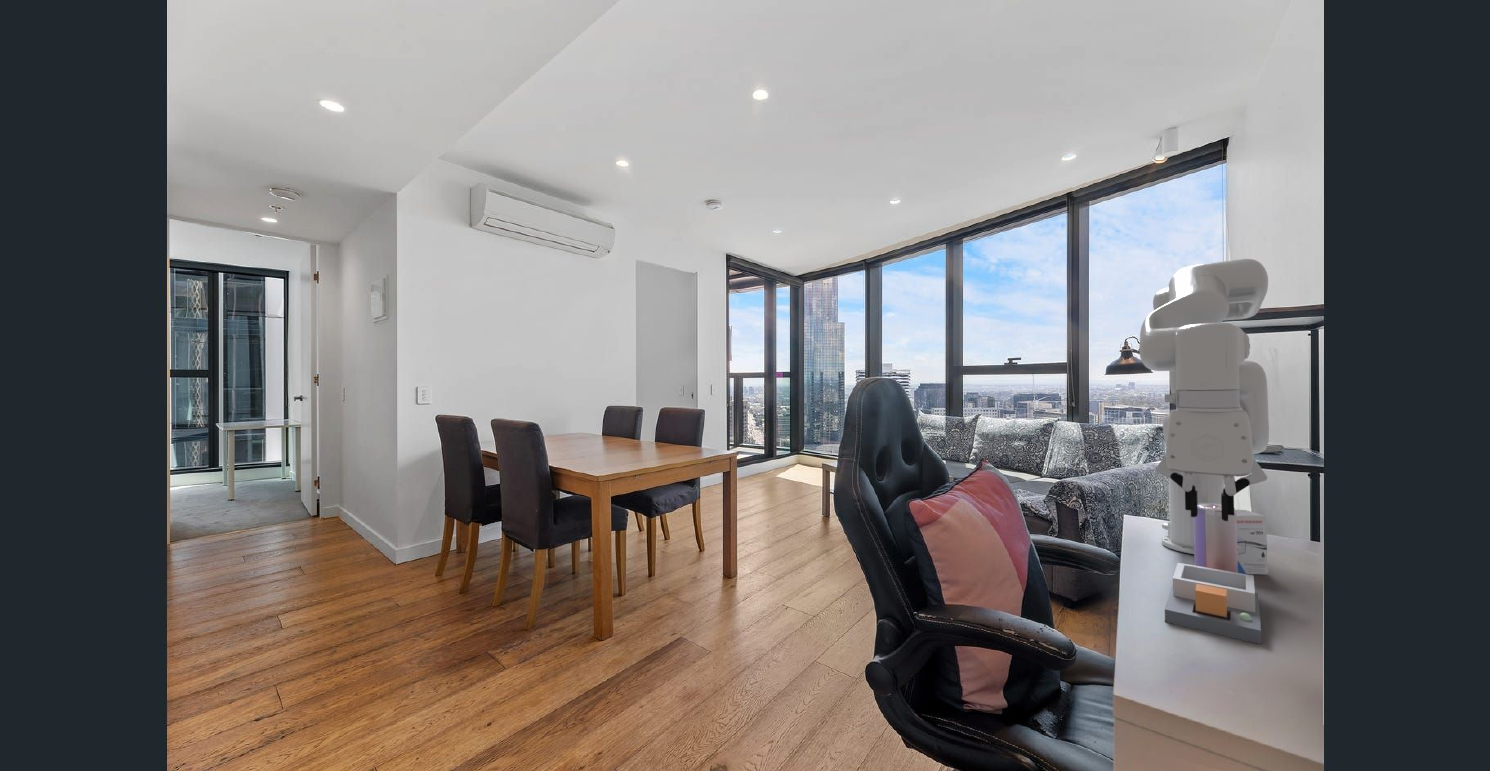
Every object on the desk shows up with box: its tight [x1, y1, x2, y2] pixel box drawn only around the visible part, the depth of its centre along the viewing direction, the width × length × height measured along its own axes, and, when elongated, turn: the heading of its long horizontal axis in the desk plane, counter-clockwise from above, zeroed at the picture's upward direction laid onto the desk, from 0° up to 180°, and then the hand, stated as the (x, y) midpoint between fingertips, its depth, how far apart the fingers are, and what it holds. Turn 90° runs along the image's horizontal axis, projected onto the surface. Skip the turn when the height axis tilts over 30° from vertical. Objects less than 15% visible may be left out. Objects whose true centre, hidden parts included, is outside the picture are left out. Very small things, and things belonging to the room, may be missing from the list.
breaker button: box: [1195, 584, 1227, 617], centre depth 82 cm, size 4×4×3 cm
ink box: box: [1235, 509, 1269, 575], centre depth 104 cm, size 9×5×12 cm, turn 84°
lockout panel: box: [1164, 562, 1262, 645], centre depth 86 cm, size 18×11×5 cm, turn 136°
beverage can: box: [1193, 503, 1238, 573], centre depth 97 cm, size 6×6×15 cm
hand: (1209, 516), depth 82 cm, fingers open, 3 cm apart
